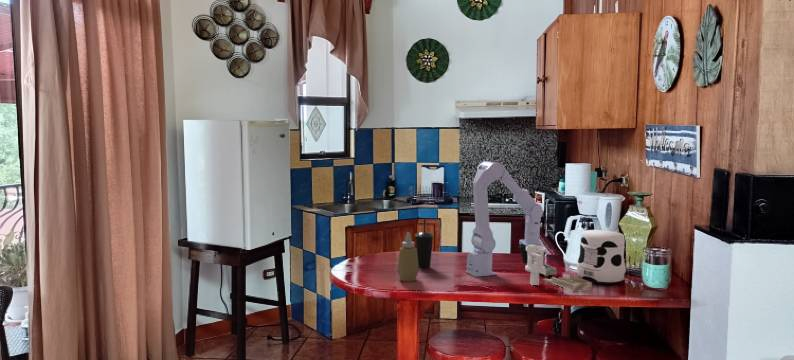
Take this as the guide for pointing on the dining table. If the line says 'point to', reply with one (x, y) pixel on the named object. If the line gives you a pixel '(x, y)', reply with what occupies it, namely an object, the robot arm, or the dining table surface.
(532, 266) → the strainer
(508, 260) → the dining table surface
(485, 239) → the robot arm
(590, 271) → the milk container
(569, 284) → the dock
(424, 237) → the drinking cup
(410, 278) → the squeeze bottle
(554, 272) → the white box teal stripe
